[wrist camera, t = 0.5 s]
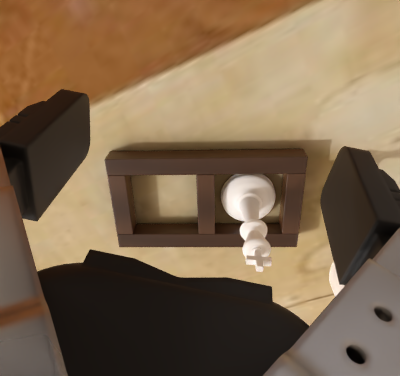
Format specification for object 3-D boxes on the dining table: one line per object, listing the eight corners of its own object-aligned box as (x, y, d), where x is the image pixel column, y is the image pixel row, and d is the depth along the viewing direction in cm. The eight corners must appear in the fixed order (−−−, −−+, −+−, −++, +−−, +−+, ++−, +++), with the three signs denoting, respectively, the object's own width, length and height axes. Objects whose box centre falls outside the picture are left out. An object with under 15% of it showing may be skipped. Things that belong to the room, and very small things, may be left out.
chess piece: (270, 220, 34) (289, 299, 25) (218, 216, 34) (219, 293, 25) (279, 173, 32) (304, 242, 23) (223, 168, 32) (226, 235, 23)
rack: (109, 150, 31) (104, 159, 30) (303, 148, 31) (307, 156, 29) (123, 236, 36) (119, 247, 34) (293, 235, 35) (297, 247, 33)
